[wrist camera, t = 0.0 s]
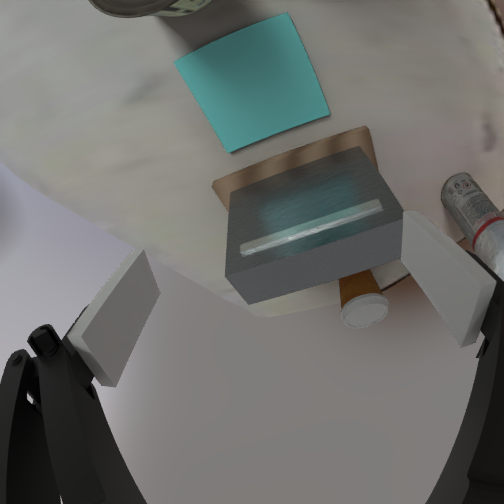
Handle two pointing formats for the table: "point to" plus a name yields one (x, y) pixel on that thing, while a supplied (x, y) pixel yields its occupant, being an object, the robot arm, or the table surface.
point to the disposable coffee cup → (361, 300)
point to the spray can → (476, 219)
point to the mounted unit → (309, 217)
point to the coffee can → (148, 7)
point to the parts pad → (254, 82)
